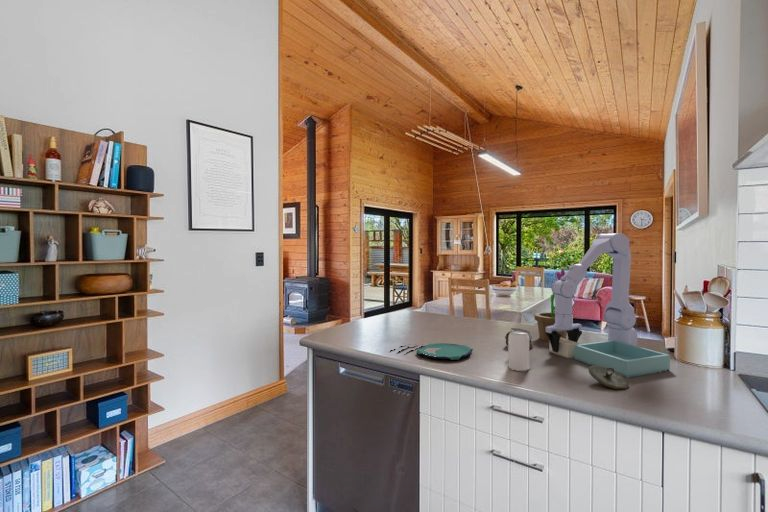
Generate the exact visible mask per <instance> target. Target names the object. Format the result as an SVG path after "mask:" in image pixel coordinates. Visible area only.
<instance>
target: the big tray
mask: <svg viewBox="0 0 768 512" xmlns="http://www.w3.org/2000/svg"><path fill="white" fill-rule="evenodd" d="M574 360H575V361H578V362H581V363H584V364H587V365H589V366H594V365H595V366H603V367H606V368H614V371H616V372H617V373H619V374H621V375H622V376H623V377H624V378H625V379H629V378H635V377H639V376H640V377H642V376H647V375H654V374H658V373H657V372H659V373H663V372H662V371H665V372H668V371H667V370H670V371H671V367H670V366H671V354H669V353H668V354H667V353H665V352H664V353H663V352H661V351H660V352H659V351H656V350H652V349H650V348H649V349H648V348H646V347H645V348H644V347H643V346H642V347H641V346H638V345H637V346H634V345H630V344H626V343H623V342H619V341H615V340H611V341H608V340H605V341H596V342H588V343H581V344H580V343H579V345H575V358H574ZM653 373H654V374H653Z"/></svg>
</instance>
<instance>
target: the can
mask: <svg viewBox="0 0 768 512" xmlns="http://www.w3.org/2000/svg"><path fill="white" fill-rule="evenodd" d="M509 332H510V334H509V336H508V346H507V347H508V349H507V352H508V355H507V356H508V358H507V359H508V360H507V362H508V368H509V369H510V368H511V369H513V370H512V371H514V370H518V371H517V372H527V371H529V370H530V347H529V336H528V332H526V331H521V330H512V331H511V330H510V331H509ZM511 369H510V370H511ZM526 370H527V371H526Z"/></svg>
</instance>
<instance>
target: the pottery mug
mask: <svg viewBox="0 0 768 512" xmlns="http://www.w3.org/2000/svg"><path fill="white" fill-rule="evenodd" d="M518 328H519V327H518ZM519 329H521V328H519ZM509 334H510V331H508V332H507V333H506V334H505V336H504V338H505V345H506V346H507V347H508V336H509ZM529 349H531V350H532V349H533V342H532V339H531V340H530V347H529Z"/></svg>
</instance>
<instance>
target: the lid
mask: <svg viewBox="0 0 768 512" xmlns="http://www.w3.org/2000/svg"><path fill="white" fill-rule="evenodd" d="M588 373H589V375H590V376H591V377H592V378H593V379H595V380H596V381H597V382H599V383H600V384H601V385H603V386H606V387H608V388H609V389H613V390H625V389H628V388H629V386H630V385H629V381H628V380H627V378H625V377H623V376H622V375H621V374H619V373H617V372H616V371H614V368H606V367H603V366H595V365H594V366H592V365H590V366H589V367H588Z"/></svg>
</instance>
